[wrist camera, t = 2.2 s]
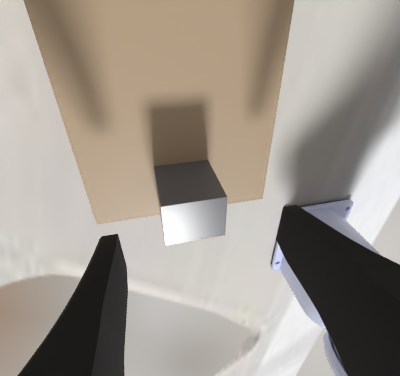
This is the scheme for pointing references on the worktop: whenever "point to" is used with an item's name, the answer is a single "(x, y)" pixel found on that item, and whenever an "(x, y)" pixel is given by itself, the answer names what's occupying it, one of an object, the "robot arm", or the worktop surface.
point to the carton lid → (166, 102)
